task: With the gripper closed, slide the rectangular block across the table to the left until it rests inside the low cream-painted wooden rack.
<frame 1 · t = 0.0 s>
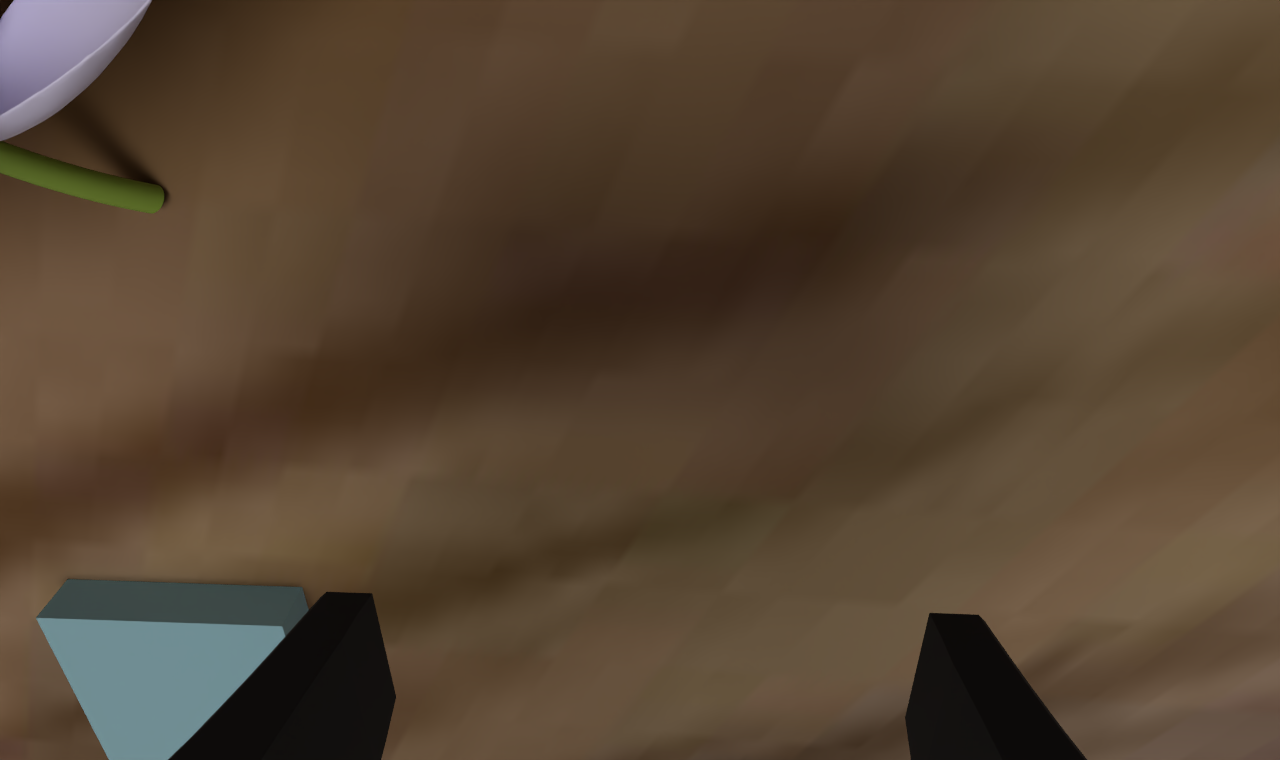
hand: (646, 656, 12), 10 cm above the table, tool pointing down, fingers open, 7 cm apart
rectangular block: (237, 693, 30), on the table
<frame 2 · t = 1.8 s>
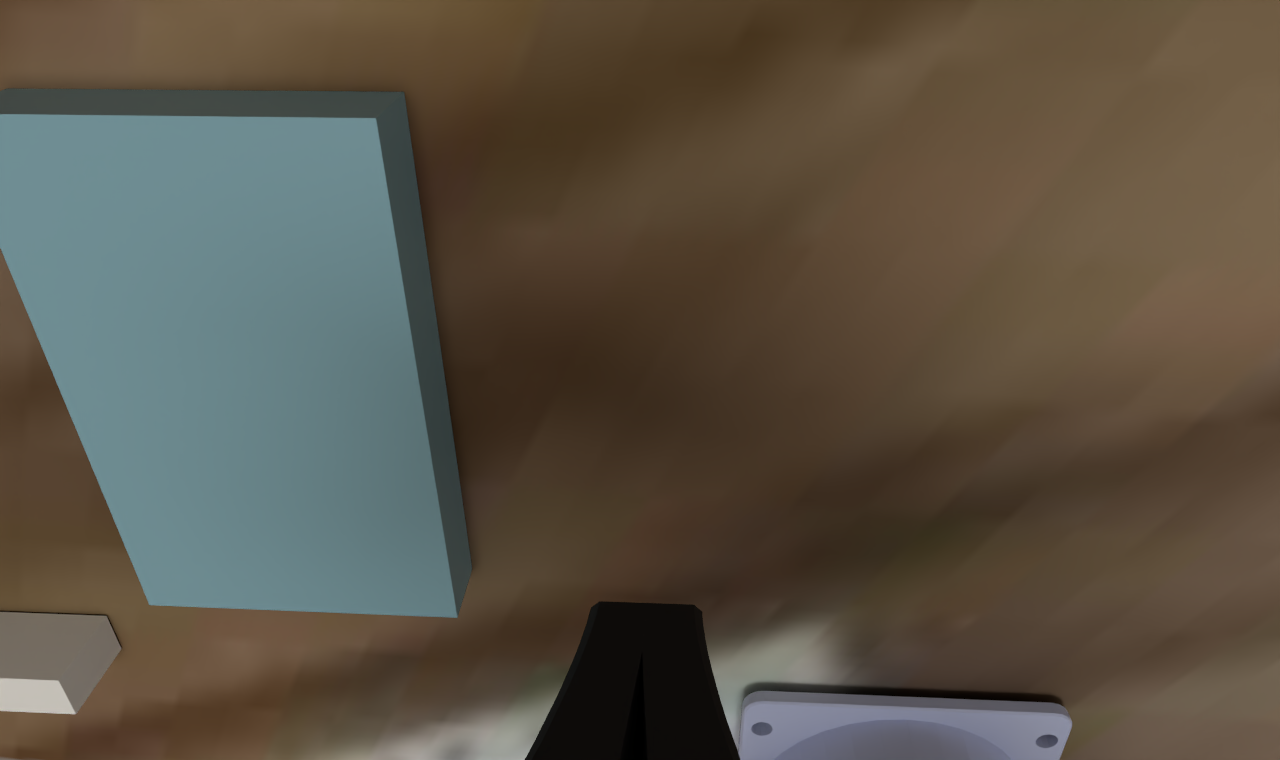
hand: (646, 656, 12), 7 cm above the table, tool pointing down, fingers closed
rectangular block: (283, 352, 19), on the table
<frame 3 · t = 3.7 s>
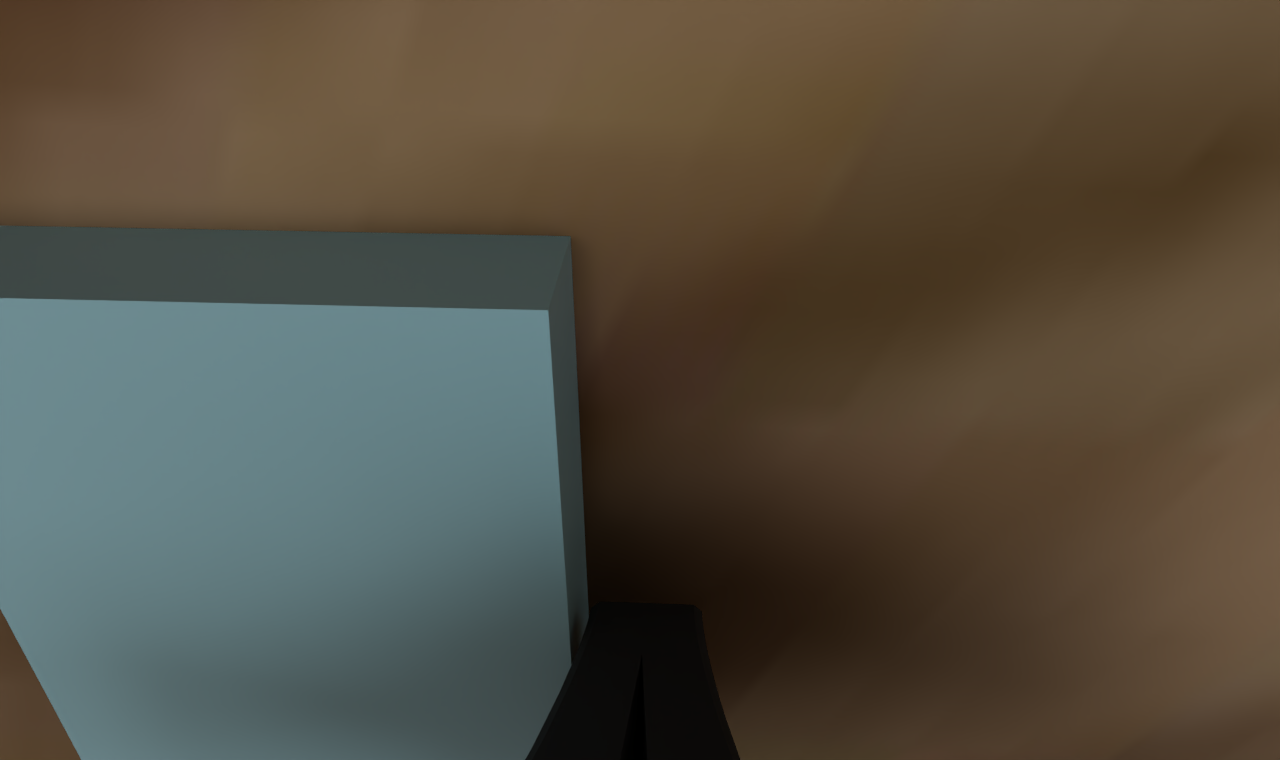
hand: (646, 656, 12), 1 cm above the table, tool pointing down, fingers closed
rectangular block: (351, 574, 13), on the table
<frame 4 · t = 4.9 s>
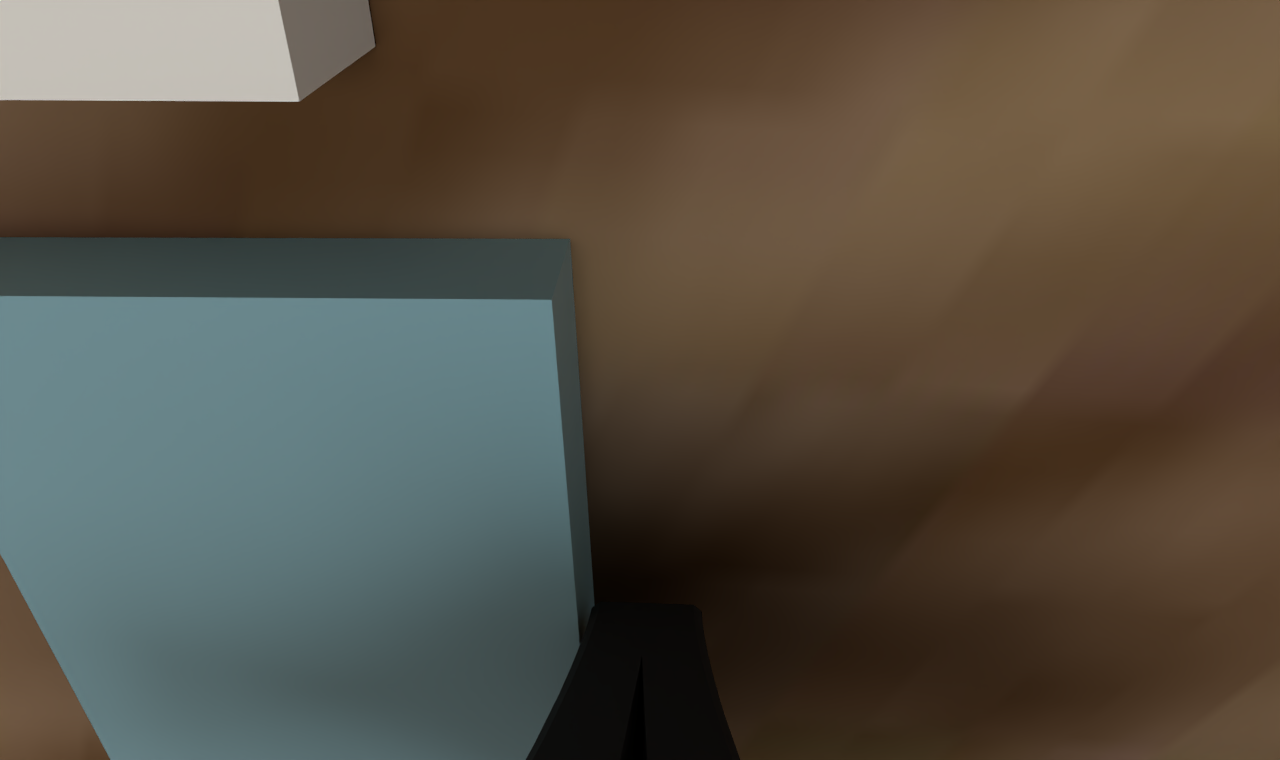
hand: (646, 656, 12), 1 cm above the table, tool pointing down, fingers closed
rack: (57, 579, 13), on the table
rectangular block: (364, 565, 13), on the table, touching gripper
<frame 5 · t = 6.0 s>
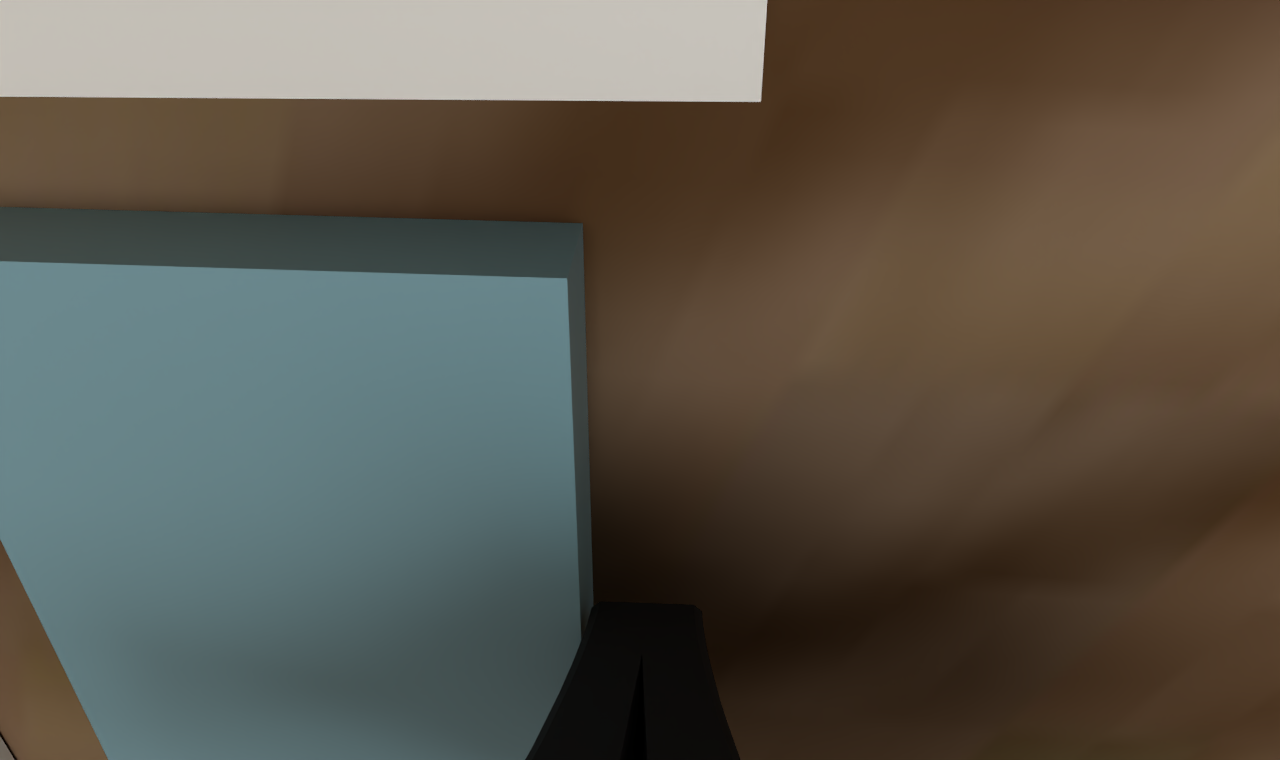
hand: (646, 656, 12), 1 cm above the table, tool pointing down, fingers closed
rack: (300, 587, 13), on the table
rectangular block: (361, 549, 13), on the table
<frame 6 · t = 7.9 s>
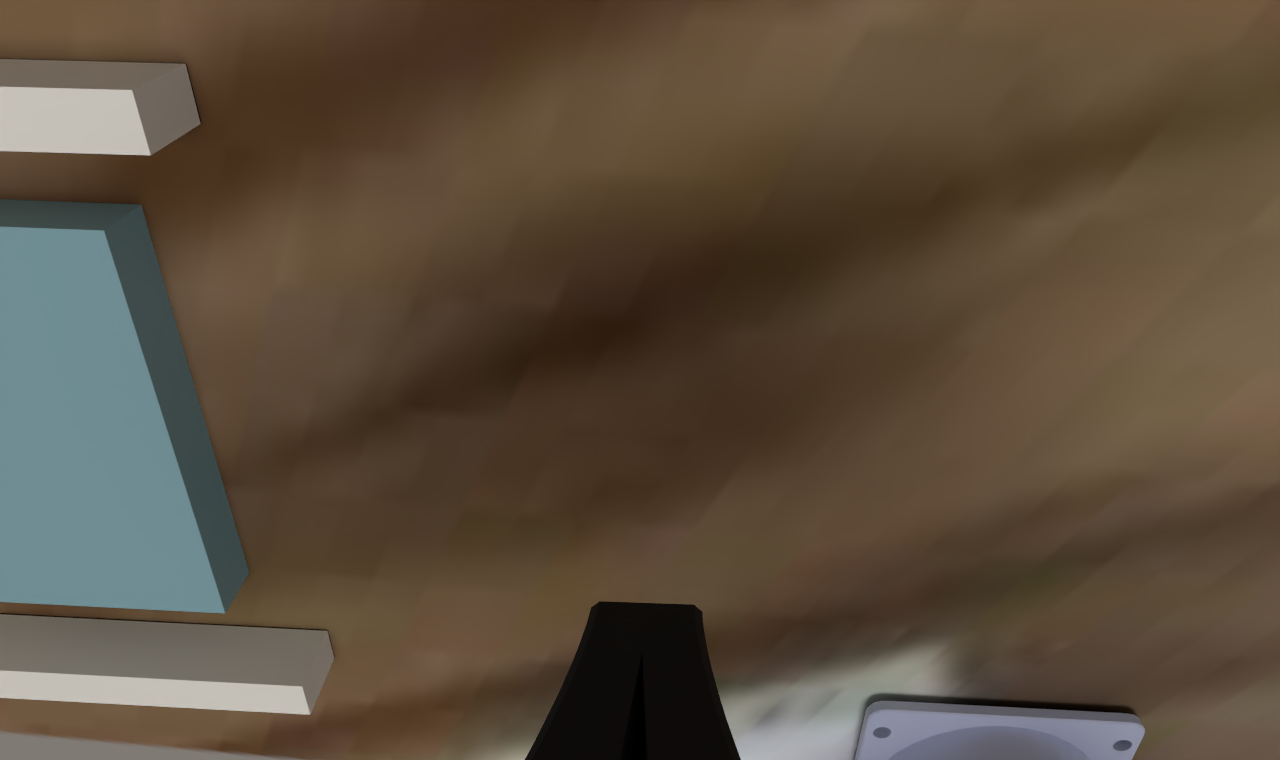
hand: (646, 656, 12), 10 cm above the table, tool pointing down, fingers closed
rack: (42, 412, 23), on the table
rectangular block: (77, 395, 23), on the table
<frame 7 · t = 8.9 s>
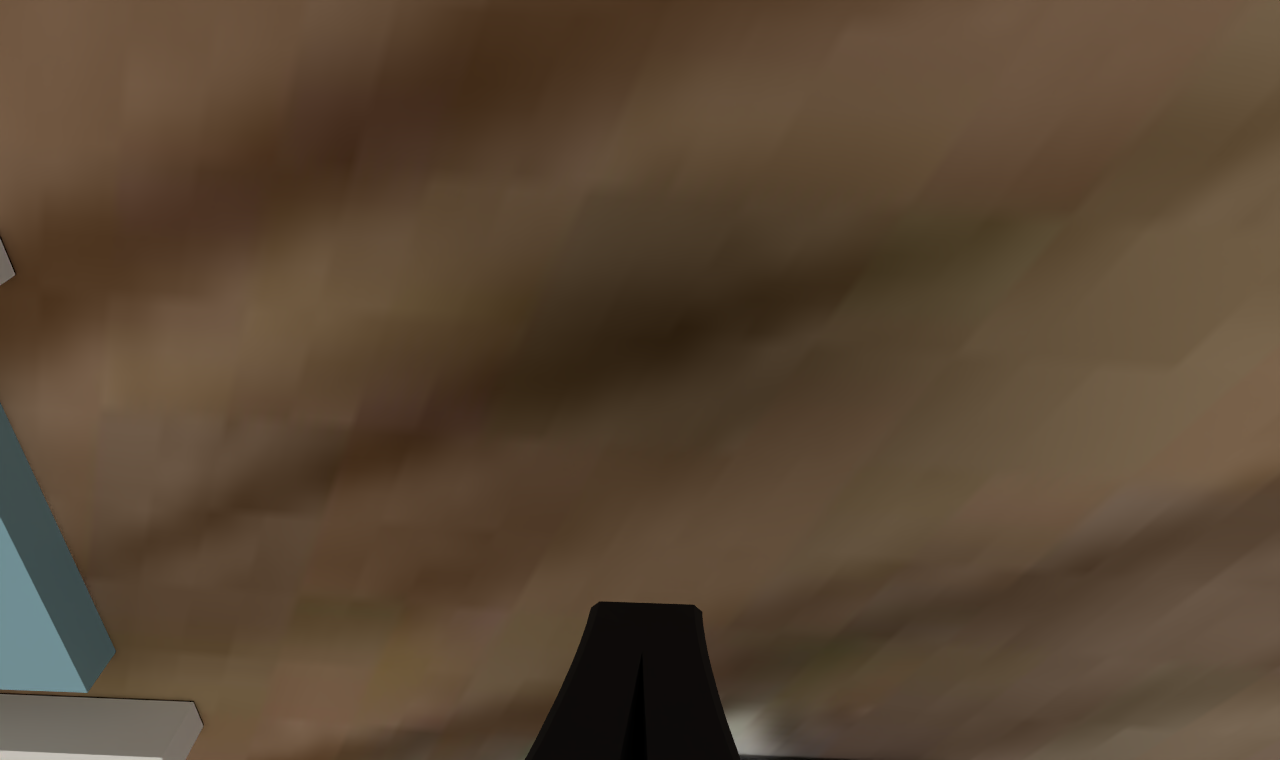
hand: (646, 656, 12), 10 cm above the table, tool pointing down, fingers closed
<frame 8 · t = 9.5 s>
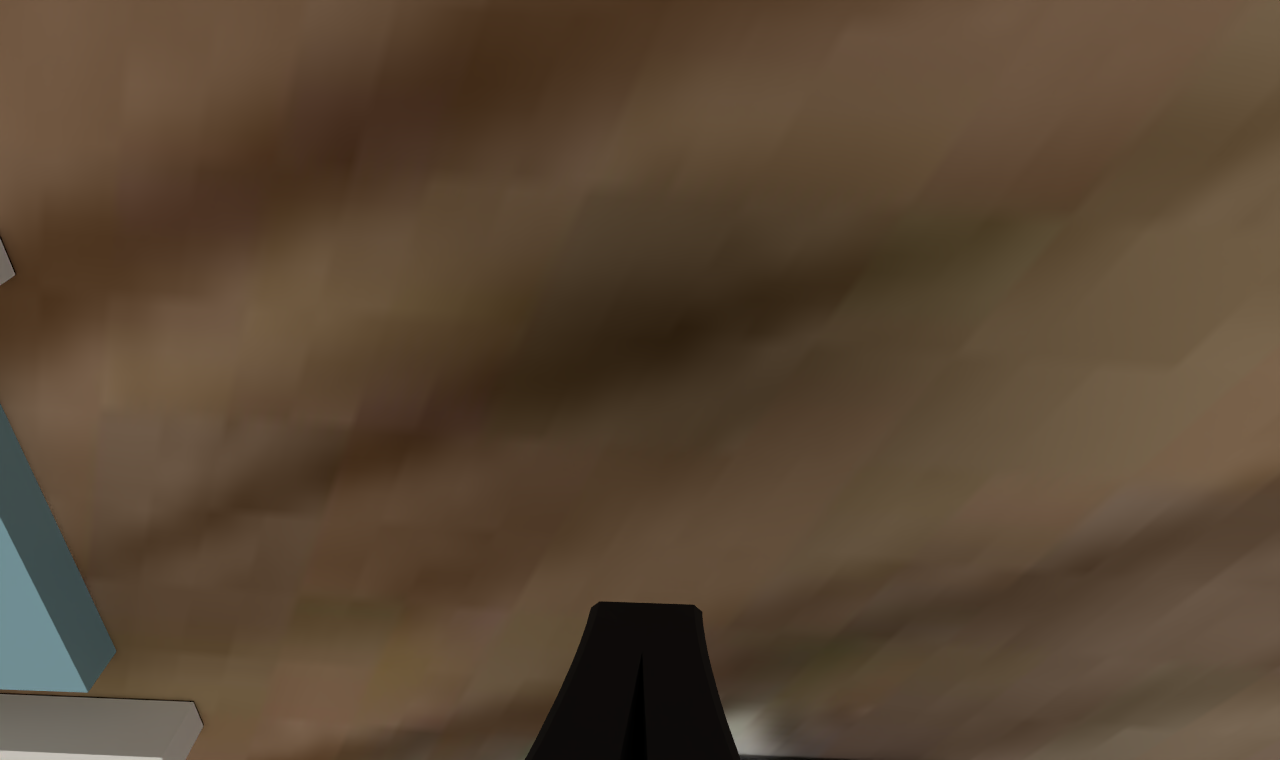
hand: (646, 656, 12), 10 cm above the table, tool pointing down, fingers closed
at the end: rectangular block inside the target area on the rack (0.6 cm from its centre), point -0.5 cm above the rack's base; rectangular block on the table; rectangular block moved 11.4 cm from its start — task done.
